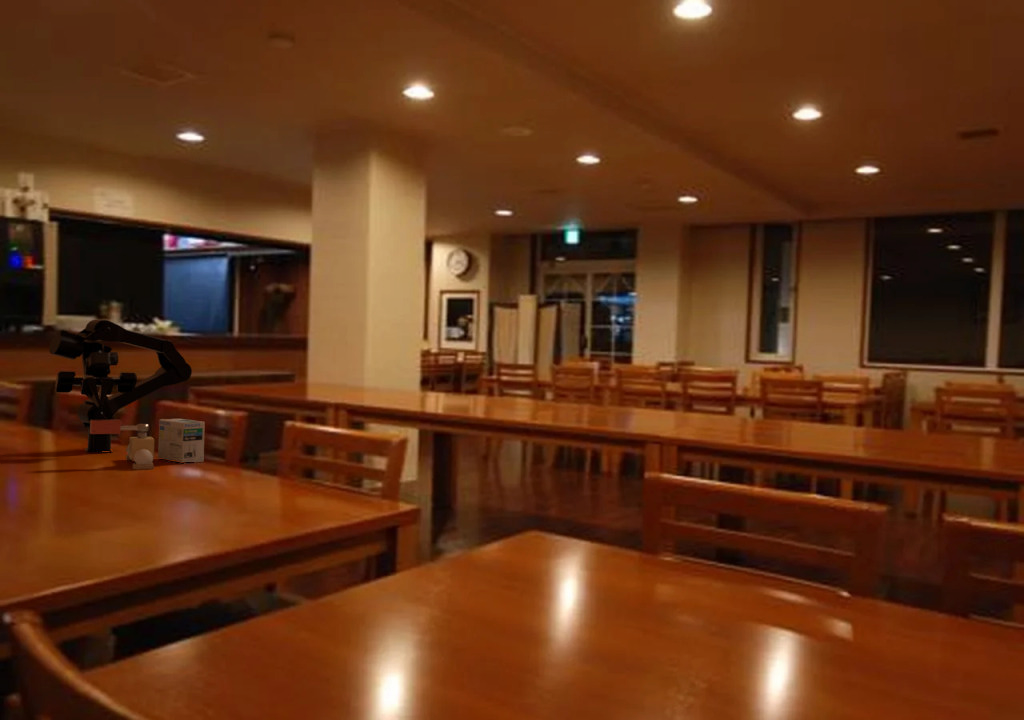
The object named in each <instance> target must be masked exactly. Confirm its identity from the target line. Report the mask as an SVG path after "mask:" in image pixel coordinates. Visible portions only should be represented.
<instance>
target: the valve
mask: <svg viewBox="0 0 1024 720" xmlns="http://www.w3.org/2000/svg"><path fill="white" fill-rule="evenodd" d="M147 432H148V431H137V436H129V444H128V445H127V446H126V452H127V454H126V455H125V460H126V459H127V460H134V461H133V463H132V469H133V470H134V469H136V470H154V469H155V465H154V463H153V461H154V456H155V453H154V452H155V438H153V437H152V436H148V435H147V434H148V433H147Z"/></svg>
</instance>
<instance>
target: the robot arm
mask: <svg viewBox="0 0 1024 720" xmlns="http://www.w3.org/2000/svg"><path fill="white" fill-rule="evenodd" d="M96 341H98V342H96ZM99 341H101V342H112V343H113V342H115V343H120V344H125V345H128V346H133V347H136V348H141V349H144V350H150V351H152V352H155V353H156V355H157V360H158V364H159V365H160V367H158V369H157V370H156V372H155V373H154V374H152V375H150V376H147V377H146V378H144V379H143V380H140V381H139V382H138V376H137V375H138V374H136V372H121V371H120V372H119V375H118V376H109V375H110V374H111V366H117V365H118V364H119V354H118V352H116V351H115V352H114V351H113V348H112V347H111V346H108V345H106V344H103V343H100V342H99ZM174 345H175V344H174V343H173V342H172V340H168V339H163V338H162V339H161V338H158V337H155V336H150V335H146V334H144V333H141V332H136V331H133V330H128V329H126V328H124V327H123V326H121V325H119V324H118V323H115V322H113V321H110V320H108V319H92V320H90V321H89V322H88V323H87V324H86V325H85V328H83V329H82V330H80V331H79V332H78V333H71V332H69V331H67V330H63V329H58V330H57V333H56V334H55V335H54V336H53V338H52V340H51V341H50V344H49V348H48V350H49V353H50V354H51V355H54V356H56V357H57V356H58V357H59V358H60V357H61V358H65V359H69V360H73V361H75V360H76V359H77V358H81V364H82V365H81V366H82V377H78V376H77V377H76V371H74V370H73V371H71V370H69V371H67V370H59V371H58V372H57V374H56V379H55V383H54V384H55V385H54V386H55V391H56V392H57V393H63V394H64V393H66V394H67V393H71V392H72V391H73V387H81V389H80V395H81V396H83V395H84V396H85V397H87V398H88V399H84V400H83V403H82V404H80V405H79V406H78V409H77V417H78V419H79V420H80V421H82V425H83V428H85V429H87V431H88V432H87V447H85V448H84V451H85V450H86V451H85V452H86V453H87V452H99V453H103V452H102V451H111V450H110V449H111V448H112V434H90V421H91V420H116V419H115V418H114V416H115V415H116V414H117V413H118V411H119V410H121V409H122V408H124V407H126V406H129V405H130V404H132V403H134V402H136V401H138V400H141V399H142V398H144V397H146V396H149V395H151V394H152V393H155V392H156V391H158V390H161V389H162V388H164V387H169V386H173V385H177V384H181V383H184V382H187V381H189V380H190V378H191V377H192V372H193V371H192V366H191V365H190V364H189V363H187V361H186V359H185V358H184V356H182V355H181V353H180V352H179V351H178V350H177V349H176V347H175V346H174ZM114 386H116V390H117V392H116V393H114V394H112V391H113V389H114ZM98 387H99V390H98ZM111 394H112V395H111Z"/></svg>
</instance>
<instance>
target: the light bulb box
mask: <svg viewBox="0 0 1024 720" xmlns="http://www.w3.org/2000/svg"><path fill="white" fill-rule="evenodd" d="M158 421H159V422H158V423H159V424H158V447H157V448H158V450H157V453H158V454H157V459H158V458H163V459H167V460H175V461H180V462H194V463H203V462H204V459H205V458H204V457H205V456H204V454H205V427H206V426H205V424H206V423H205V421H200V420H193V419H184V418H161V419H159V420H158Z"/></svg>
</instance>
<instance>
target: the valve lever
mask: <svg viewBox="0 0 1024 720" xmlns="http://www.w3.org/2000/svg"><path fill="white" fill-rule="evenodd" d="M121 422H122V421H121V419H115V420H91V421H90V434H111V435H114V434H115V435H117V434H118V435H120V434H121V431H136V432H150V431H149V429H150V427H149V426H150V425H149V423H137V424H134V425H133V424H132V425H131V424H130V425H129V424H128V425H127V424H126V425H122V423H121Z"/></svg>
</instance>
